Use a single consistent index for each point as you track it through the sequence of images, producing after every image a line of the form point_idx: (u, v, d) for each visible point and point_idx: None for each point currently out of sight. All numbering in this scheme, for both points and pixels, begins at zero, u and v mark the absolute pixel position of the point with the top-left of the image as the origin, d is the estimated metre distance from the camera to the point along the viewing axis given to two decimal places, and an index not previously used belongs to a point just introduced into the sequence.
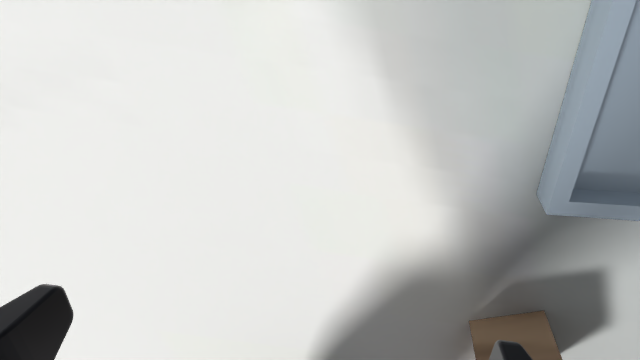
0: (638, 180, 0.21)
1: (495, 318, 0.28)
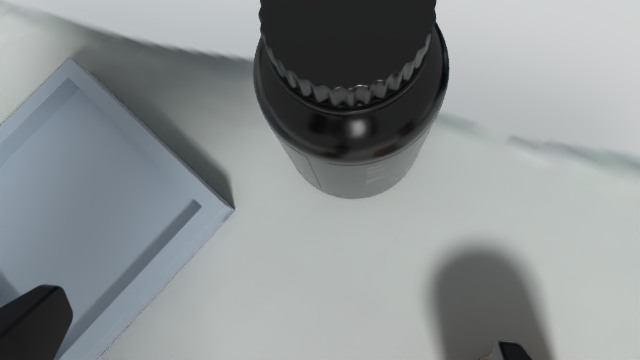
0: (102, 306, 0.22)
1: None
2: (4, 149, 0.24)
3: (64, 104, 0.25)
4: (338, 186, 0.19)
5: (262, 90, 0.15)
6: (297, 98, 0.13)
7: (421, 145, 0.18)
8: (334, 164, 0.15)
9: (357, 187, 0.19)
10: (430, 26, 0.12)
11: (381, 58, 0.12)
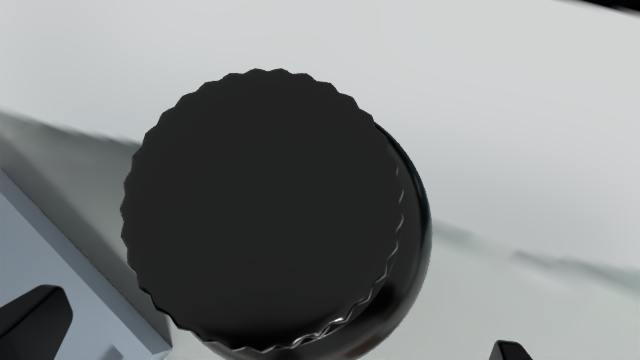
0: None
1: None
2: None
3: None
4: None
5: None
6: None
7: None
8: None
9: None
10: (393, 240, 0.07)
11: (313, 298, 0.07)
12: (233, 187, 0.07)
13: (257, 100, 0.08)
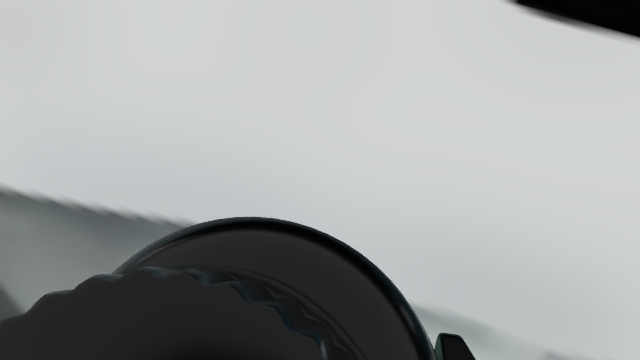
0: None
1: None
2: None
3: None
4: None
5: None
6: None
7: None
8: None
9: None
10: None
11: None
12: None
13: (134, 341, 0.04)
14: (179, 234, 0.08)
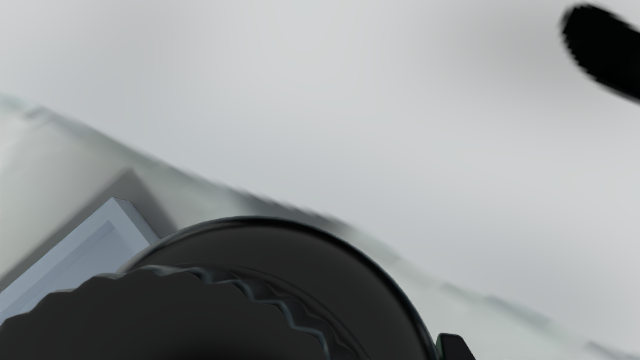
0: None
1: None
2: (33, 290, 0.22)
3: (101, 241, 0.23)
4: None
5: None
6: None
7: None
8: None
9: None
10: None
11: None
12: None
13: (138, 338, 0.04)
14: (182, 233, 0.08)
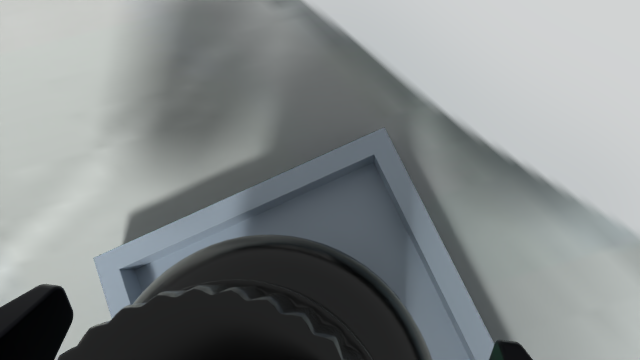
0: None
1: None
2: (252, 212, 0.17)
3: (343, 178, 0.18)
4: None
5: None
6: None
7: None
8: None
9: None
10: None
11: None
12: None
13: (194, 343, 0.05)
14: (208, 250, 0.09)
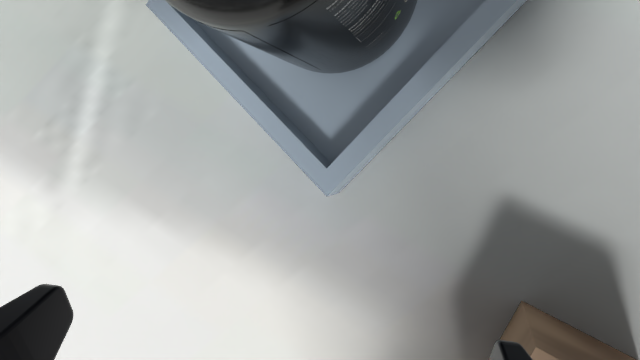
0: (378, 98, 0.18)
1: None
2: None
3: None
4: (327, 55, 0.15)
5: None
6: None
7: None
8: (279, 23, 0.11)
9: (349, 45, 0.15)
10: None
11: None
12: None
13: None
14: None
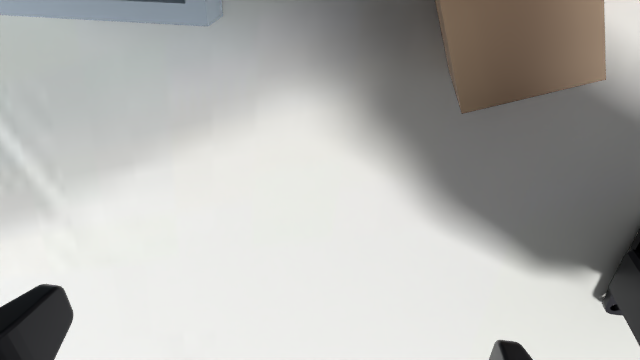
0: None
1: (442, 35, 0.18)
2: None
3: None
4: None
5: None
6: None
7: None
8: None
9: None
10: None
11: None
12: None
13: None
14: None
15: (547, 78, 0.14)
